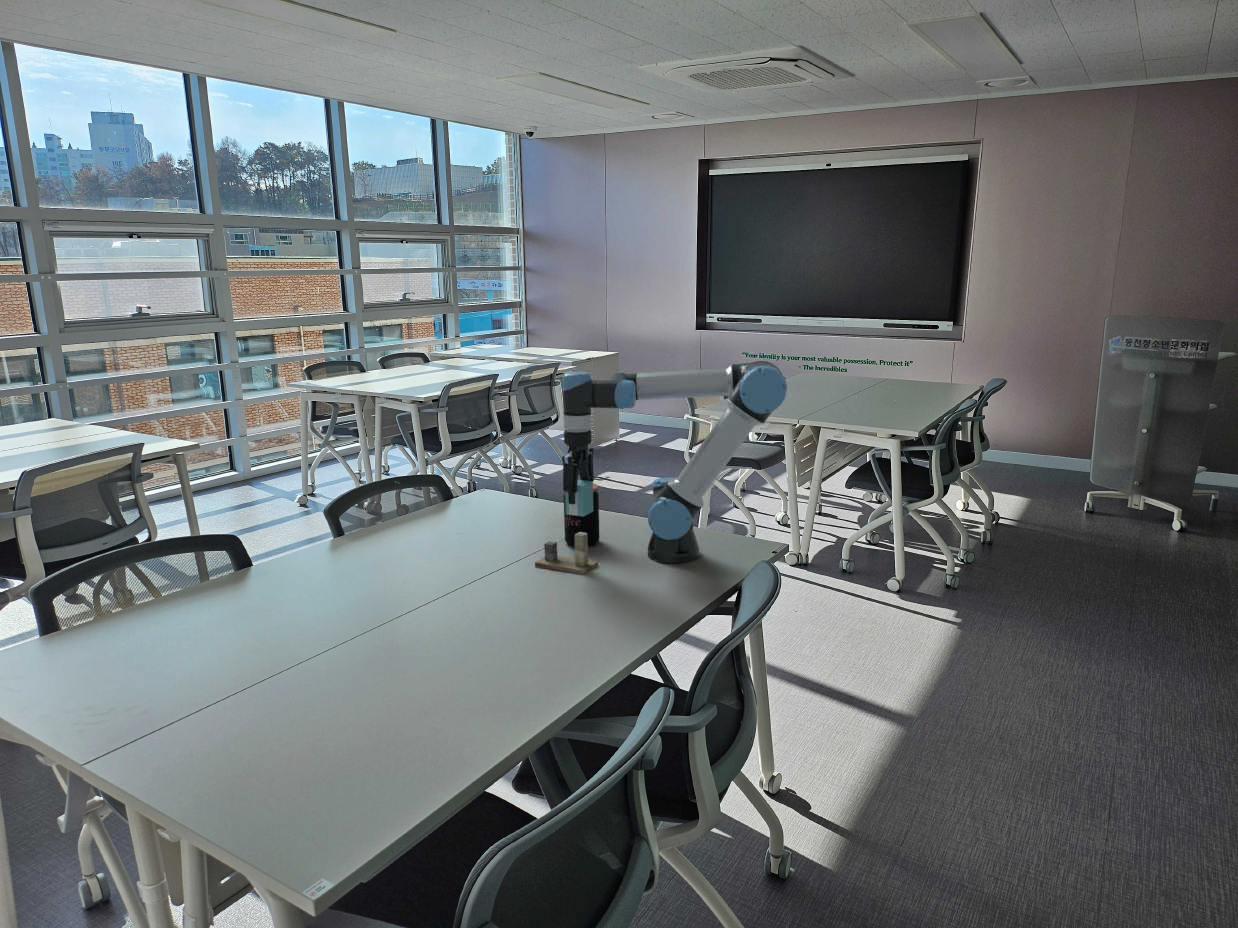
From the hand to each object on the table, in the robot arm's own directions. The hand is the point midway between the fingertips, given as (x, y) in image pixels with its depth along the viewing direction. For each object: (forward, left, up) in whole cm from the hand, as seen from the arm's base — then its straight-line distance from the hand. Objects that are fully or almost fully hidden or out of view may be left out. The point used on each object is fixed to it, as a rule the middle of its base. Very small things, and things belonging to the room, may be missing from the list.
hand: (579, 511), depth 231 cm
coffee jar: (-20, -11, -17) cm, 28 cm away
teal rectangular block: (0, 0, 0) cm, 0 cm away
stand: (0, -5, -17) cm, 17 cm away
